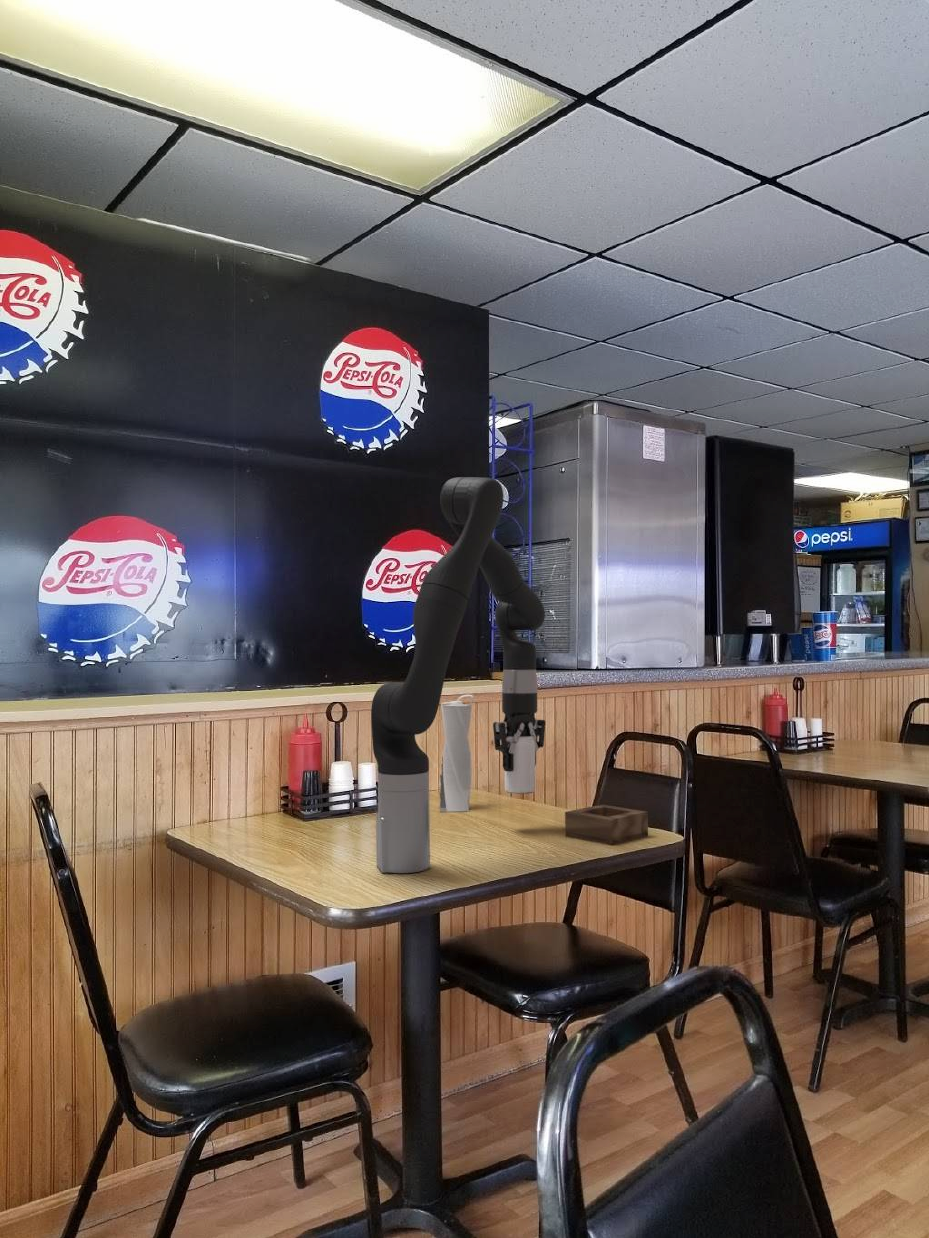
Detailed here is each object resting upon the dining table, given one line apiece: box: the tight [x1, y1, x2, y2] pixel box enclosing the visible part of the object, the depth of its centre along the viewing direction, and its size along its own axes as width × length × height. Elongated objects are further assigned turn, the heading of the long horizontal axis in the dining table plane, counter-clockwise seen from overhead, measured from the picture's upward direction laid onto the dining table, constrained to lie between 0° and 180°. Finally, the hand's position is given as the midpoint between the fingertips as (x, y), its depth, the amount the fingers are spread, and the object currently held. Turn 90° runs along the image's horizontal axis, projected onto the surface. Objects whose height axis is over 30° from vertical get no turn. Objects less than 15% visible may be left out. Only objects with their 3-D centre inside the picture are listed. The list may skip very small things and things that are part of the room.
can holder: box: [564, 804, 649, 846], centre depth 192 cm, size 12×12×5 cm
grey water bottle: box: [439, 694, 474, 814], centre depth 224 cm, size 8×8×28 cm
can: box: [504, 735, 536, 795], centre depth 198 cm, size 6×6×12 cm
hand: (519, 769), depth 198 cm, fingers closed on can, 6 cm apart
